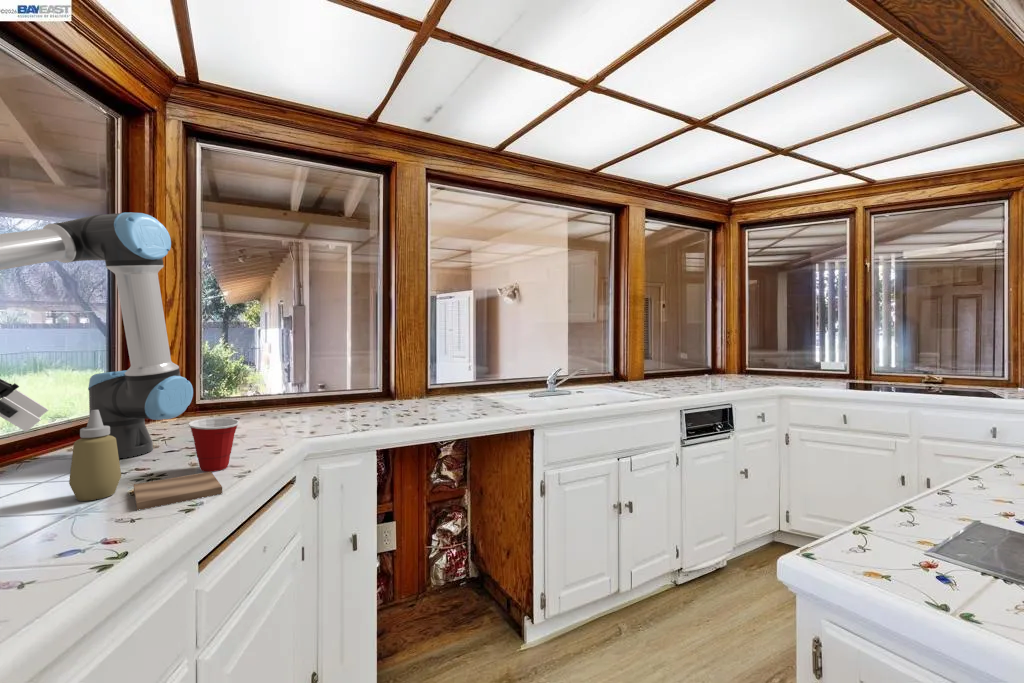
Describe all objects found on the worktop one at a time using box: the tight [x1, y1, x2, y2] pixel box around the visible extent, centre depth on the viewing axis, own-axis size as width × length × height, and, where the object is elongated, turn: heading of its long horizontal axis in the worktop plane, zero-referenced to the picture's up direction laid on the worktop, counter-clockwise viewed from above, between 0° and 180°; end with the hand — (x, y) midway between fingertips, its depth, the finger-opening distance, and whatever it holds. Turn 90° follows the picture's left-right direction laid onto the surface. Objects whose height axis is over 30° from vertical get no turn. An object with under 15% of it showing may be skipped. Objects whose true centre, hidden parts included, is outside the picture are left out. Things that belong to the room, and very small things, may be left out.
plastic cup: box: [188, 417, 241, 473], centre depth 115 cm, size 11×11×12 cm
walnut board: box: [133, 471, 223, 511], centre depth 98 cm, size 14×14×2 cm
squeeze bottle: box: [68, 410, 122, 502], centre depth 95 cm, size 8×8×18 cm
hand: (38, 420), depth 89 cm, fingers open, 13 cm apart
